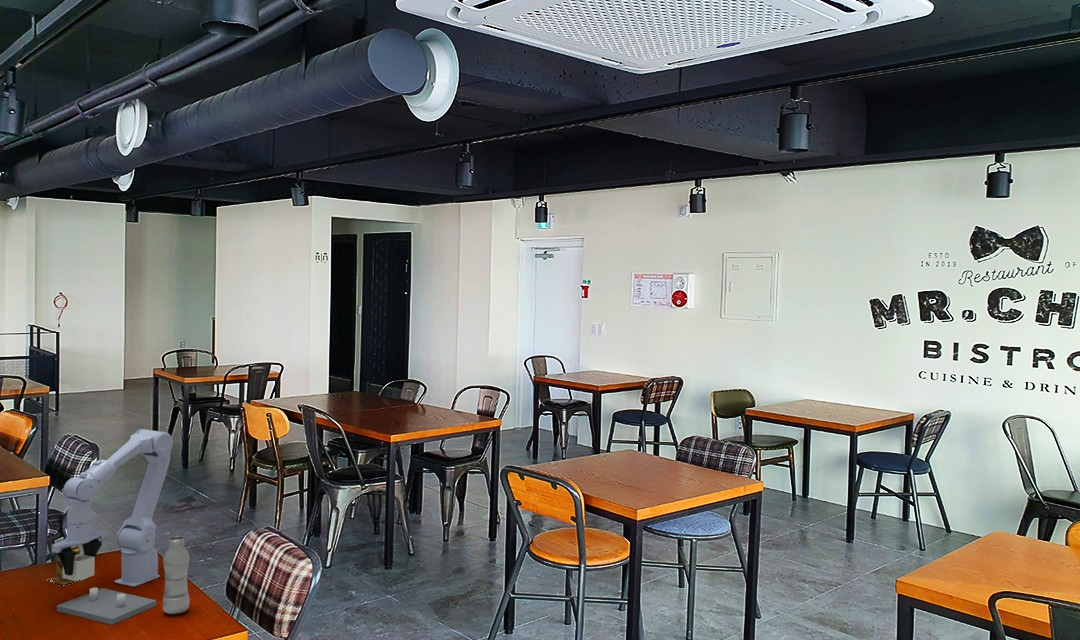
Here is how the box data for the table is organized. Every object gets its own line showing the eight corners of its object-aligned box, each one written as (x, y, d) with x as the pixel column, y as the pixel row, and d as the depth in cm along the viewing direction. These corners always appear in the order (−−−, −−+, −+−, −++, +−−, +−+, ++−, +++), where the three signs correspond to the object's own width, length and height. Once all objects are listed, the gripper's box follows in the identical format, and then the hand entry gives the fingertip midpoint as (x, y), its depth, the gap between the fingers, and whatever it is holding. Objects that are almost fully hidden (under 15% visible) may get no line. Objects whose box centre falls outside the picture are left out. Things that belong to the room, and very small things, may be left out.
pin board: (102, 593, 230) (102, 577, 230) (156, 605, 223) (156, 589, 223) (56, 611, 217) (56, 594, 217) (112, 624, 210) (112, 607, 210)
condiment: (62, 586, 235) (63, 545, 234) (45, 580, 239) (46, 539, 238) (87, 579, 241) (87, 538, 241) (70, 573, 245) (70, 533, 245)
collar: (80, 571, 227) (80, 553, 227) (94, 574, 225) (94, 557, 225) (62, 577, 223) (62, 559, 222) (76, 581, 220) (76, 562, 220)
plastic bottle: (179, 618, 215) (180, 543, 214) (156, 615, 217) (157, 540, 216) (194, 609, 222) (195, 536, 221) (172, 606, 223) (173, 533, 222)
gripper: (92, 513, 232) (92, 561, 232) (44, 526, 218) (43, 577, 219) (110, 516, 229) (110, 565, 229) (62, 530, 215) (62, 581, 216)
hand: (78, 571), depth 224 cm, fingers closed on collar, 5 cm apart
